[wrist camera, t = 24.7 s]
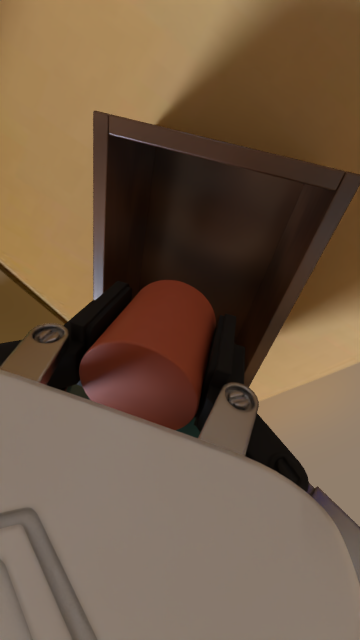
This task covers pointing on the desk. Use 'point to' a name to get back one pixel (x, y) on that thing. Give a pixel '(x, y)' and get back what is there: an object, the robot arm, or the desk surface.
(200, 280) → the box
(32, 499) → the robot arm
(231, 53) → the desk surface
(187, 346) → the cylinder piece
